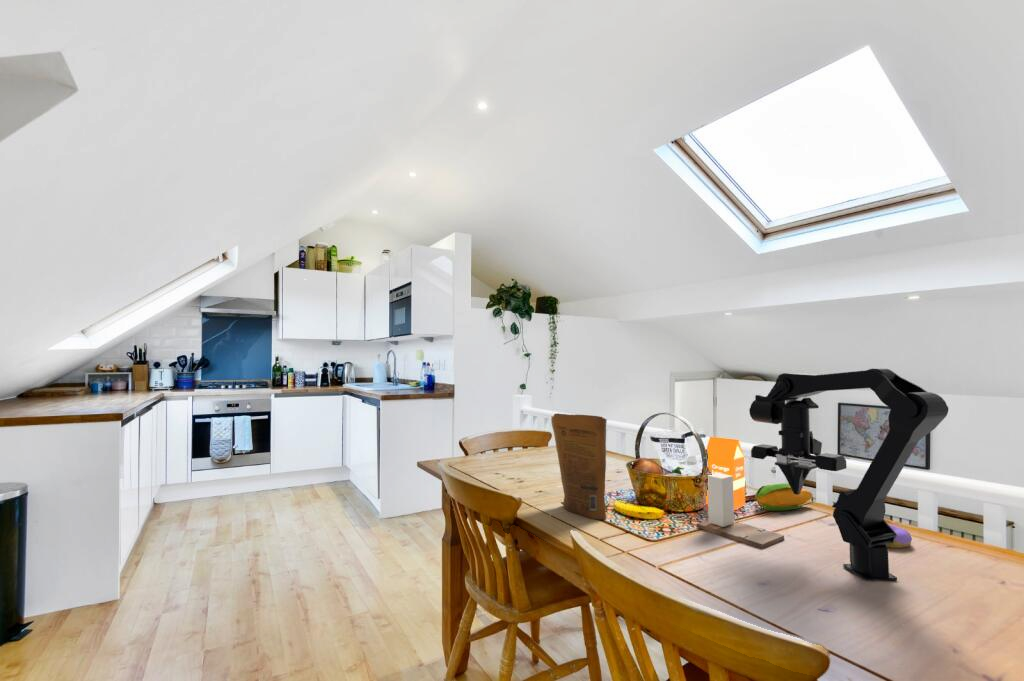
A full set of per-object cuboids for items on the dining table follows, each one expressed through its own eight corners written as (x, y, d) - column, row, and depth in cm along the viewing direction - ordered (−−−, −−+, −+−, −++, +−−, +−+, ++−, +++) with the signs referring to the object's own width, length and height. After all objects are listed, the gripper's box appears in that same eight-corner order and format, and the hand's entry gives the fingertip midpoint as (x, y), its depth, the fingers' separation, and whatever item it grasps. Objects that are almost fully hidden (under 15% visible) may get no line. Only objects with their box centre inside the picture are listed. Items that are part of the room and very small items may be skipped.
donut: (877, 531, 119) (880, 513, 119) (918, 552, 111) (923, 533, 110) (849, 536, 116) (853, 517, 115) (890, 558, 107) (894, 539, 107)
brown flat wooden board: (784, 539, 114) (784, 534, 114) (762, 548, 109) (762, 543, 109) (719, 520, 128) (719, 515, 128) (696, 527, 123) (696, 522, 123)
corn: (747, 481, 139) (799, 476, 145) (747, 507, 140) (799, 501, 146) (768, 490, 132) (822, 484, 138) (767, 517, 132) (821, 510, 139)
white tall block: (734, 523, 122) (733, 475, 123) (723, 526, 119) (722, 478, 120) (719, 518, 125) (718, 473, 126) (708, 522, 123) (707, 475, 123)
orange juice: (734, 511, 136) (733, 441, 137) (704, 504, 142) (703, 437, 143) (745, 506, 141) (744, 438, 142) (716, 499, 148) (715, 435, 149)
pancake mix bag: (599, 524, 125) (598, 417, 126) (549, 507, 140) (549, 411, 141) (615, 519, 129) (614, 415, 130) (565, 503, 144) (565, 410, 145)
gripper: (855, 428, 108) (857, 498, 107) (772, 420, 123) (773, 481, 123) (834, 432, 102) (836, 506, 101) (749, 423, 117) (750, 487, 116)
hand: (796, 494), depth 110 cm, fingers closed
